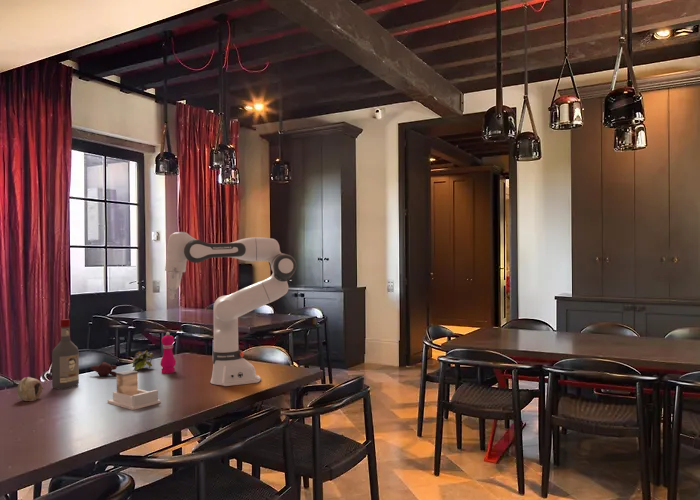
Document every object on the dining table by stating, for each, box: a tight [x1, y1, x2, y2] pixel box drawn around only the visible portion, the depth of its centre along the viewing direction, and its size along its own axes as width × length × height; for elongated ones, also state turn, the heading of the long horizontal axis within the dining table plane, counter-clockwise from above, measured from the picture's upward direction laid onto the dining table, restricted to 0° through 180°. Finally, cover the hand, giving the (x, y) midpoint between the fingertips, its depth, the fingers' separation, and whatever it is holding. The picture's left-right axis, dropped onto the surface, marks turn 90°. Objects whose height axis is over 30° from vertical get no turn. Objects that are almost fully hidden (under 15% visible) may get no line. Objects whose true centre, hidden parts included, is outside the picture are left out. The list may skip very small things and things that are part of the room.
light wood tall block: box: [116, 369, 139, 396], centre depth 217 cm, size 5×6×10 cm
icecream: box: [89, 361, 118, 377], centre depth 264 cm, size 7×7×15 cm
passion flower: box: [130, 349, 154, 371], centre depth 278 cm, size 11×11×12 cm
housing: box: [107, 388, 162, 411], centre depth 214 cm, size 18×12×5 cm
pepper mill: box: [160, 331, 176, 374], centre depth 271 cm, size 7×7×20 cm
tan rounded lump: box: [16, 376, 45, 402], centre depth 221 cm, size 9×8×10 cm
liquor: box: [51, 318, 80, 390], centre depth 243 cm, size 9×9×30 cm
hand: (172, 298), depth 243 cm, fingers open, 8 cm apart
